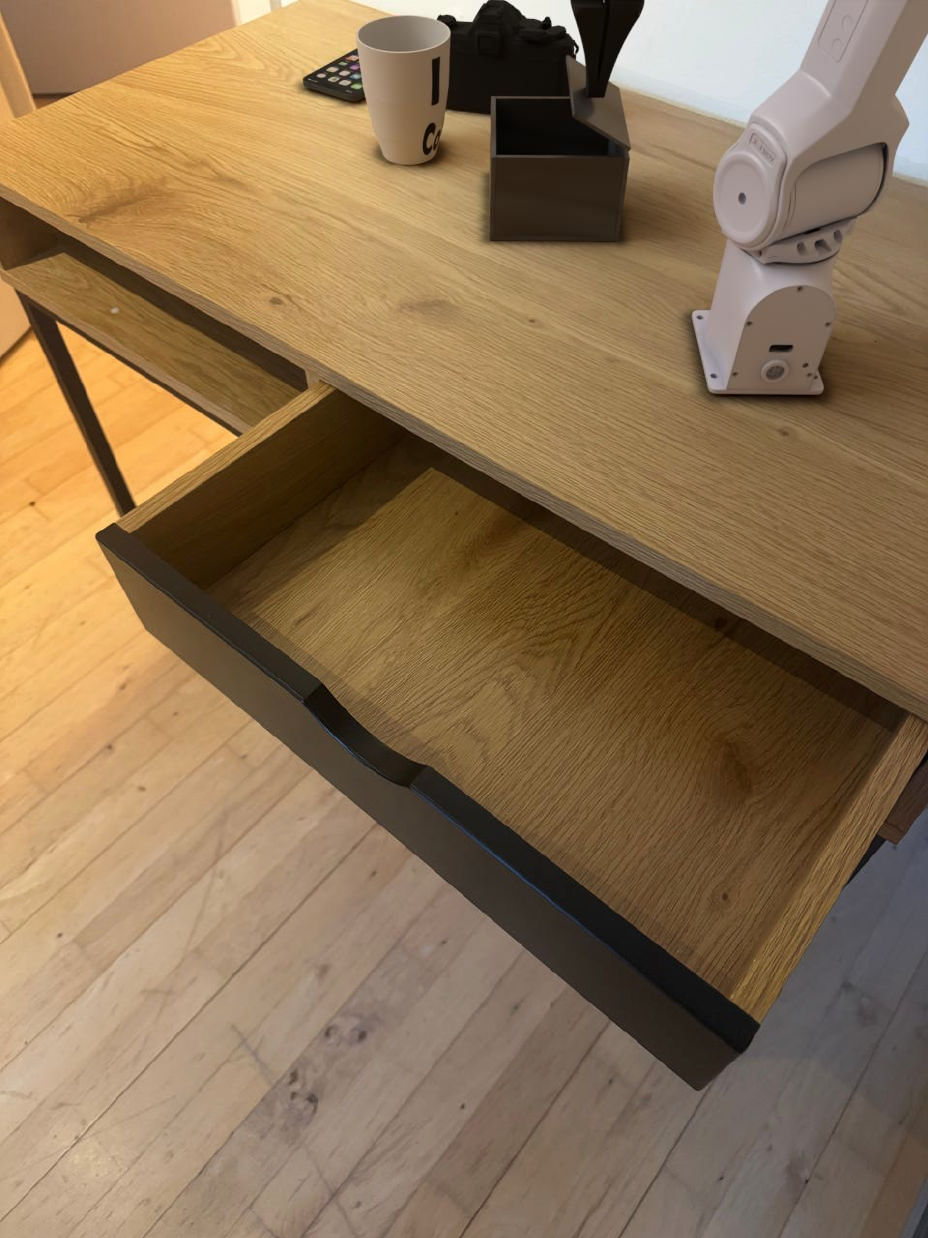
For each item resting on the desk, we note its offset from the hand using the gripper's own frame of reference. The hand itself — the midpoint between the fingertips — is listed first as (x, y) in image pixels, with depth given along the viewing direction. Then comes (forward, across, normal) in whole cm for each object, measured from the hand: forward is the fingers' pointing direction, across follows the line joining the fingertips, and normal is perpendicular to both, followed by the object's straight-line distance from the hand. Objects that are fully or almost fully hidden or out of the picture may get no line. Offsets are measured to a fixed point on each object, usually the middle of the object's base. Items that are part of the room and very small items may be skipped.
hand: (595, 92), depth 72 cm
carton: (+9, +3, 0) cm, 10 cm away
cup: (+10, +16, -10) cm, 21 cm away
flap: (+1, 0, 0) cm, 1 cm away
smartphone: (+10, +21, -28) cm, 36 cm away
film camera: (+10, +7, -22) cm, 25 cm away
